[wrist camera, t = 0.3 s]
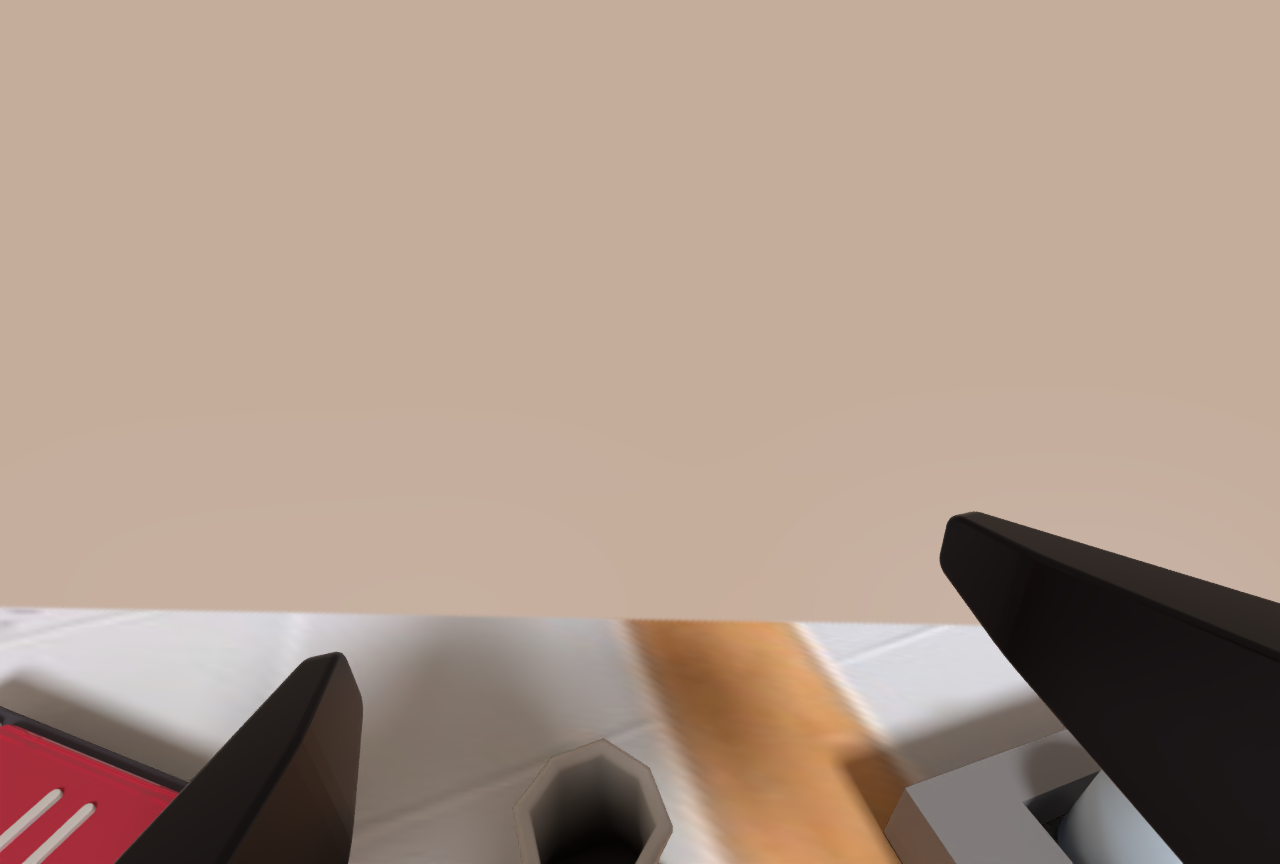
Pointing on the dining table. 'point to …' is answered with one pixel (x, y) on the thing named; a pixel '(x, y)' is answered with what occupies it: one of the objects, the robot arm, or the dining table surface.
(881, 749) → the dining table surface
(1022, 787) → the button panel
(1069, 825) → the button blue
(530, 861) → the flask
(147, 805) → the black product box
